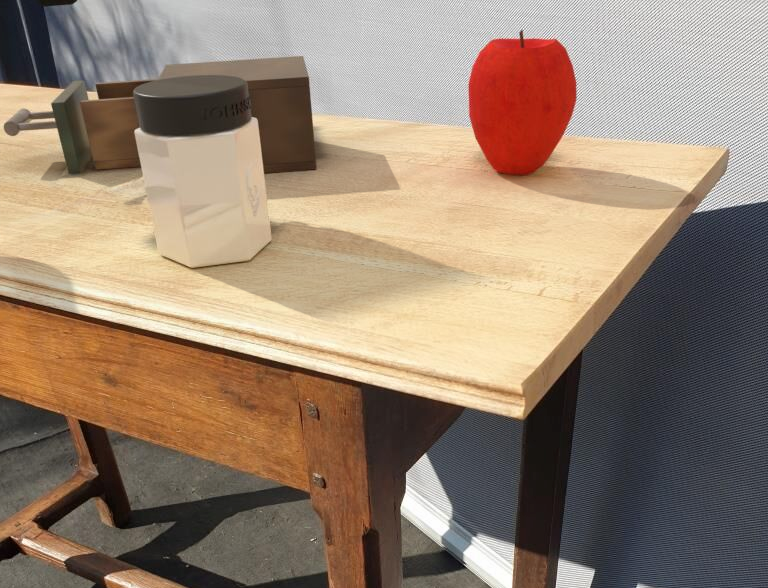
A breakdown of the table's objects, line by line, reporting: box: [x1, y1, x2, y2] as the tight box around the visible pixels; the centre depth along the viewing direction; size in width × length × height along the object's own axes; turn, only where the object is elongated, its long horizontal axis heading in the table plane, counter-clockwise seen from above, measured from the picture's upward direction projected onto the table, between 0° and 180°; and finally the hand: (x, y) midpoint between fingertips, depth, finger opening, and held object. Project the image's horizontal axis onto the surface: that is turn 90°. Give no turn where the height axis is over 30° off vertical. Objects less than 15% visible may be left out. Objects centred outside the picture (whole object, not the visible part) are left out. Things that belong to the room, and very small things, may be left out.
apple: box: [467, 29, 578, 176], centre depth 77 cm, size 10×10×12 cm
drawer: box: [3, 78, 158, 175], centre depth 85 cm, size 19×11×7 cm, turn 97°
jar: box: [133, 75, 273, 269], centre depth 63 cm, size 9×8×12 cm
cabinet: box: [157, 55, 317, 174], centre depth 86 cm, size 15×13×9 cm
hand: (59, 3), depth 74 cm, fingers closed
